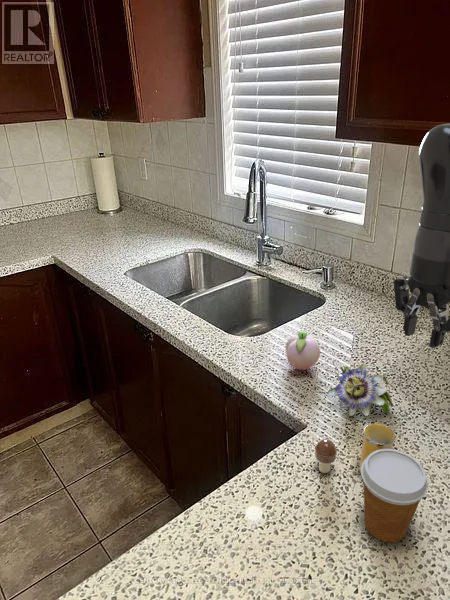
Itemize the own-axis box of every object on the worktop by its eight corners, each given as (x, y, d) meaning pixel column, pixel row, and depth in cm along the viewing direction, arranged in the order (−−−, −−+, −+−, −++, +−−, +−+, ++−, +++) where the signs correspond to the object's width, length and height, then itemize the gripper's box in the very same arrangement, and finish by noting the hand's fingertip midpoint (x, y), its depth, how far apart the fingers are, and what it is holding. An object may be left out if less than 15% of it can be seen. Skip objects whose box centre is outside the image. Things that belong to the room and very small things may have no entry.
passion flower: (350, 433, 98) (319, 396, 94) (357, 397, 106) (329, 361, 102) (398, 425, 91) (367, 384, 87) (402, 386, 99) (374, 348, 95)
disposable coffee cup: (352, 496, 77) (358, 443, 71) (410, 503, 75) (421, 449, 70) (357, 548, 68) (365, 492, 63) (423, 557, 67) (437, 500, 61)
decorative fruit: (321, 379, 107) (323, 343, 103) (286, 379, 107) (287, 343, 103) (316, 357, 115) (318, 324, 111) (284, 357, 116) (285, 323, 112)
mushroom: (337, 465, 83) (340, 438, 80) (331, 480, 80) (334, 452, 77) (317, 458, 85) (319, 431, 82) (311, 472, 82) (312, 445, 79)
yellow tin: (390, 466, 82) (397, 428, 78) (385, 487, 78) (392, 448, 74) (362, 457, 85) (367, 420, 81) (355, 476, 80) (360, 438, 76)
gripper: (493, 259, 70) (471, 351, 78) (415, 236, 81) (402, 319, 89) (465, 269, 67) (444, 365, 74) (387, 245, 78) (376, 330, 85)
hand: (421, 339), depth 81 cm, fingers open, 4 cm apart
